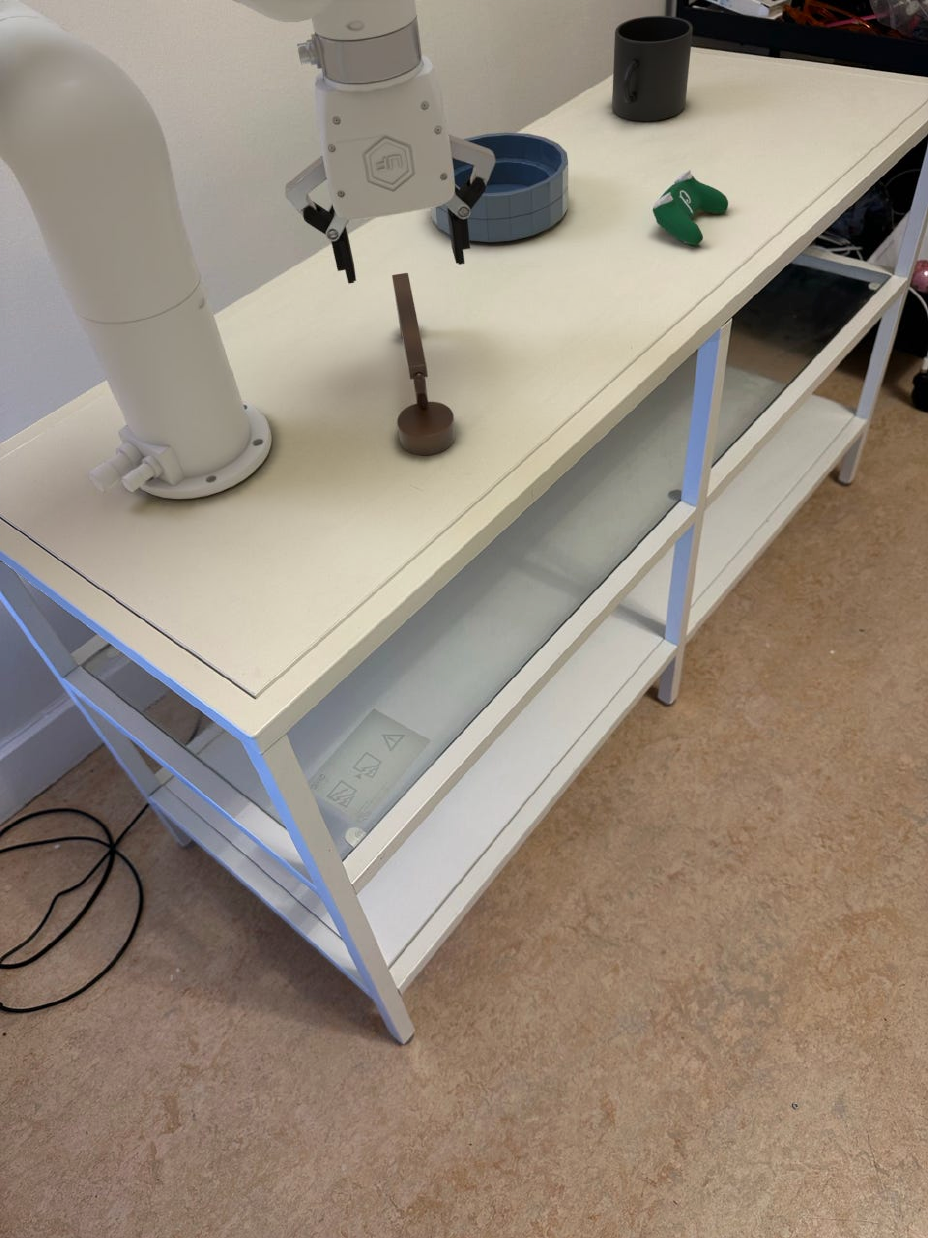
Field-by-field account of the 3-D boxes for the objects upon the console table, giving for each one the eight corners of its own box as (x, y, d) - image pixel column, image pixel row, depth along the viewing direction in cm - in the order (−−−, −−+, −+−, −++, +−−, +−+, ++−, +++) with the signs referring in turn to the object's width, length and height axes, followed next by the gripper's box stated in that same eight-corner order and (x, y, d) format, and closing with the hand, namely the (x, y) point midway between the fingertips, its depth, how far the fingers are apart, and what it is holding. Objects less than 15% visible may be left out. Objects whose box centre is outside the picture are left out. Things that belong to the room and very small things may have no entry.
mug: (589, 123, 116) (590, 44, 109) (632, 88, 122) (636, 11, 115) (656, 135, 112) (662, 54, 105) (697, 98, 118) (705, 19, 111)
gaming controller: (707, 222, 101) (674, 178, 99) (734, 202, 98) (700, 156, 96) (675, 262, 96) (640, 216, 94) (702, 242, 93) (666, 194, 91)
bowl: (516, 259, 96) (514, 207, 91) (405, 226, 102) (398, 177, 98) (593, 197, 103) (594, 147, 99) (484, 170, 110) (481, 123, 105)
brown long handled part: (459, 450, 76) (452, 390, 71) (403, 459, 76) (392, 399, 71) (432, 327, 88) (425, 269, 84) (384, 334, 88) (374, 277, 84)
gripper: (253, 88, 64) (309, 305, 77) (493, 48, 64) (508, 271, 77) (254, 51, 69) (307, 261, 82) (477, 13, 69) (494, 229, 82)
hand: (404, 265), depth 80 cm, fingers open, 9 cm apart
